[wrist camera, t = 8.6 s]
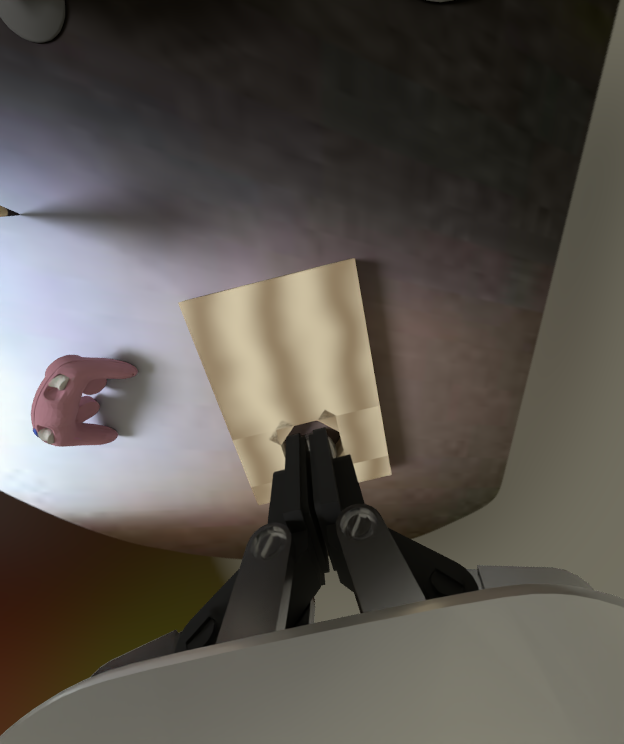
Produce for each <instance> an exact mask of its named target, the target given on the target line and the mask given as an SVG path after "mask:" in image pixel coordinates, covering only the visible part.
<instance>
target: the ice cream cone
mask: <svg viewBox="0 0 624 744" xmlns="http://www.w3.org/2000/svg"><path fill="white" fill-rule="evenodd" d="M15 215H20V214H18V213H16V212H14V211H11V210H9V209H7V208H4V207H2V206H0V217H3V216H15Z"/></svg>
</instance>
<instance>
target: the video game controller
mask: <svg viewBox="0 0 624 744" xmlns="http://www.w3.org/2000/svg"><path fill="white" fill-rule="evenodd" d="M137 373H138V370H137V368H136V367H135V366H133V365H131V364H129V363H126V362H123V361H119V360H114V359H107V358H87V357H80V356H78V355H66V356H63V357H60V358H58V359H57V360H55V361H54V362H53V363H52V364H50V365H49V366H48V368H47V369H46V372H45V378H44V380H43V381H42V382H41V384H40V386H39V388H38V390H37V392H36V394H35V397H34V400H33V404H32V410H31V420H32V425H33V432H34V434H35V435H36V436H37V437H39V438H40V439H41V440H42V441H44V442H46V443H48V444H51V445H55V446H78V445H101V444H106V443H109V442H112V441H114V440H115V439H116V438H117V437H118V434H117V431H116V430H114V429H112V428H110V427H107V426H102V425H97V424H88V423H83V422H84V421H85V420H87V419H89V418H91V417H92V416H94V415H95V414H96V413H97V412H98V410H99V408H100V405H99V403H98V402H97V401H95V400H94V399H93V398H92V397H90V396H84V397H81V396H82V393H84V394H87V395H92V394H96V393H98V392H100V391H101V390H102V389H103V388H104V387H105V385H106V383H107V379H125V378H130V377H133V376H135V375H136V374H137Z"/></svg>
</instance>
